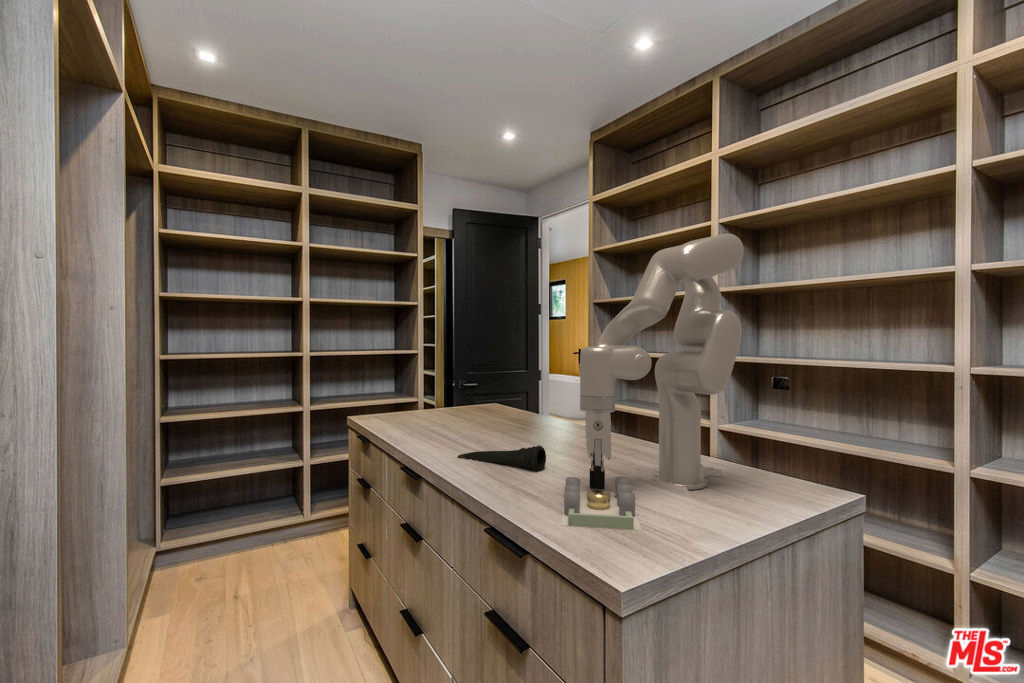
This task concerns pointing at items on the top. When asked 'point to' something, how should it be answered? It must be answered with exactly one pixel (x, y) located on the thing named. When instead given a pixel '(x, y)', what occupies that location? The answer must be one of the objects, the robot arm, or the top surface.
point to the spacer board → (614, 517)
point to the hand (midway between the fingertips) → (597, 487)
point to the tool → (512, 457)
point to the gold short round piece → (598, 499)
